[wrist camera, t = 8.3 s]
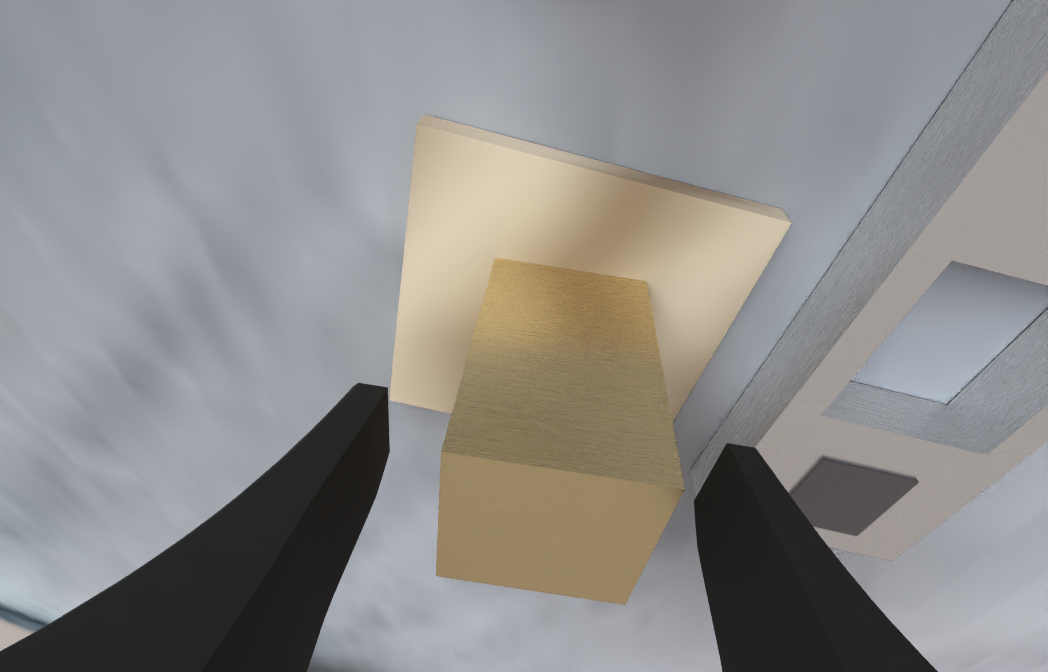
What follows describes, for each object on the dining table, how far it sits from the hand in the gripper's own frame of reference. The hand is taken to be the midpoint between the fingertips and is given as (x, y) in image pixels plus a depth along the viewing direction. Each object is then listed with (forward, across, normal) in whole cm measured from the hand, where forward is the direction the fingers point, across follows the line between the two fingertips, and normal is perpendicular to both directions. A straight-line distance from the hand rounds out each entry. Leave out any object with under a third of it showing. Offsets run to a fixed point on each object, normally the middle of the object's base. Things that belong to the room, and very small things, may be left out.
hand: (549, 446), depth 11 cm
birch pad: (+5, 0, 0) cm, 5 cm away
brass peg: (+4, 0, 0) cm, 4 cm away
